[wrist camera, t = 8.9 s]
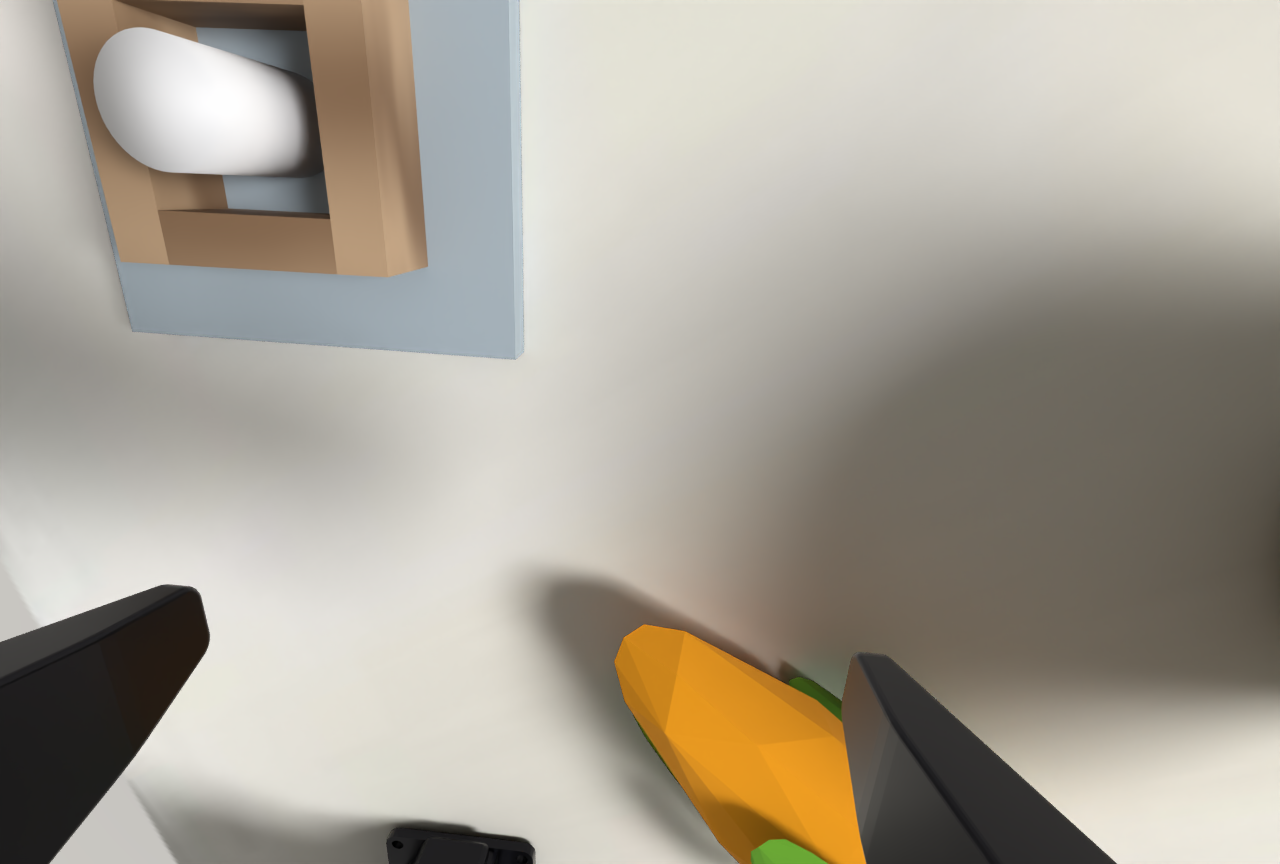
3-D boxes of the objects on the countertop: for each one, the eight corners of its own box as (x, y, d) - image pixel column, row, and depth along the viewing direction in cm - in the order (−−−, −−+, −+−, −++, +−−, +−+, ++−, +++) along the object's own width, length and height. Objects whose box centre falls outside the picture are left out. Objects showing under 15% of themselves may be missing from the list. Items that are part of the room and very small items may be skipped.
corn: (952, 1176, 20) (496, 825, 16) (875, 926, 27) (546, 640, 23) (1163, 1082, 18) (711, 663, 14) (1021, 842, 26) (694, 518, 22)
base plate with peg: (524, 351, 19) (463, 407, 14) (158, 325, 20) (-25, 369, 15) (517, -131, 15) (427, -297, 10) (53, -144, 16) (-252, -305, 11)
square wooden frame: (428, 266, 18) (388, 277, 15) (193, 253, 18) (120, 261, 16) (406, -27, 15) (354, -68, 13) (136, -35, 16) (38, -75, 13)
